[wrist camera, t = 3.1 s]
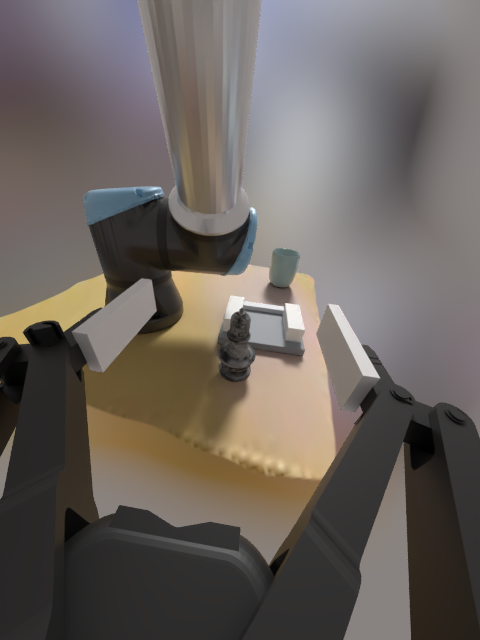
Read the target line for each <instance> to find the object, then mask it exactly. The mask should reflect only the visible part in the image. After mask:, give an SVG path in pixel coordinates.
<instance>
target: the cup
mask: <svg viewBox="0 0 480 640" xmlns="http://www.w3.org/2000/svg"><path fill="white" fill-rule="evenodd" d="M299 260H300V253H299V252H297V251H295V250H292V249H286V248H276V249H274V250H273V253H272V257H271V263H270V270H269V279H270V282H271V283H272V284H273V285H274V286H276V287H287V286H289V285H290V284H291V283H292V281H293V279H294V277H295V274H296V271H297V267H298V263H299Z"/></svg>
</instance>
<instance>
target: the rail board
mask: <svg viewBox="0 0 480 640" xmlns="http://www.w3.org/2000/svg"><path fill="white" fill-rule="evenodd" d="M241 308H243V309H244V312H246V313H248V314H249V316H250V317H251V323H250V329H249V332H250V333H251V338H250V340H249V341H248V345H249V346H251V347H252V348H253V349H259V350H266V351H273V352H280V353H286V354H293V355H300V356H303V353H304V351H305V349H304V344H303V339H302V337H303V334H304V331H305V328H304V324H303V320H302V316H301V311H300V307H299V305H295V304H287V303H285V306H284V307H283V306H275V305H268V304H261V303H254V302H247V301H244V297H237V296H231V297H230V300H229V303H228V306H227V310H226V313H225V316H224V321H223V324H222V327H221V330H220V333H219V337H218V343H219V344H225V343H227V342H228V337H227V332H228V330H229V329H230V321H231V316H232V314H234V313H235V312H238V311H239V310H240V309H241Z"/></svg>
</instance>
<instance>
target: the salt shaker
mask: <svg viewBox="0 0 480 640" xmlns="http://www.w3.org/2000/svg"><path fill="white" fill-rule="evenodd" d="M250 323H251V317H250V316H249V314H248V313H246V312H244V309H243V308H241V309H240V310H239V311H238V312H235V313H234V314H232V316H231V321H230V329H229V330H228V332H227V337H228V342H227V343H225V344H223V345H222V346H221V347H220V348H219V350H218V357H219V359H220V361H221V363H220V365H219V371H220V374H221V375H222V376H223V377H224V378H225V379H227V380H229V381H233V382H238V381H242V380H245V379H246V378H247V377H248V376H249V375H250V372H251V368H250V365H251V364H252V363H253V361H254V359H255V352H254V350H253V348H252V347H251V346H249V345H248V341H249V340H250V338H251V333H250V332H249V329H250Z"/></svg>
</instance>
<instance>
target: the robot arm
mask: <svg viewBox="0 0 480 640" xmlns="http://www.w3.org/2000/svg"><path fill="white" fill-rule="evenodd" d="M137 2H138V7H139V12H140V17H141V21H142V26H143V31H144V36H145V41H146V45H147V50H148V54H149V60H150V65H151V69H152V74H153V79H154V84H155V88H156V93H157V98H158V103H159V108H160V112H161V117H162V122H163V127H164V132H165V136H166V141H167V146H168V151H169V155H170V160H171V165H172V170H173V175H174V180H175V184H176V186H175V187H174V188H173V190H172V191H171V193H170V196H169V198H164V193H163V191H162V189H161V188H160V187H128V188H111V189H99V190H92V191H89V192H87V193H86V194H85V195H84V197H83V204H84V210H85V214H86V218H87V226H89V229H90V232H91V235H92V238H93V241H94V244H95V247H96V251H97V254H98V257H99V260H100V263H101V266H102V270H103V273H104V276H105V279H106V283H107V288H106V299H105V307H104V308H99V309H96V310H94V311H92V312H91V313H89V314H88V315H86V317H84V318H82V319H81V320H80V321H78V322H77V323H76V324H74V325H73V326H72V327H70V328H69V329H67V330H66V331H65V332H63V331H62V329H61V327H60V325H59V323H58V322H56V321H42V322H38V323H35V324H33V325H31V326H29V327H28V328H26V329H25V330H24V332H23V333H24V335H25V336H26V338H27V340H28V341H29V343H30V344H20V345H19V344H18V343H17V341H16V340H15V338H12V337H1V338H0V381H1V383H0V456H1V455H2V452H3V451H4V449H5V447H6V445H7V443H8V441H9V439H10V437H11V435H12V433H13V431H14V429H15V427H16V430H15V436H14V441H13V446H12V451H11V456H10V462H9V467H8V472H7V478H6V482H5V488H4V493H3V496H2V498H1V499H0V640H343V638H344V636H345V632H346V630H347V626H348V624H349V621H350V617H351V614H352V611H353V608H354V605H355V602H356V599H357V596H358V593H359V589H360V585H361V573H360V570H359V565H360V561H361V558H362V555H363V552H364V549H365V546H366V544H367V541H368V538H369V535H370V532H371V530H372V527H373V524H374V521H375V518H376V516H377V513H378V510H379V507H380V504H381V501H382V499H383V496H384V493H385V490H386V487H387V485H388V482H389V479H390V476H391V473H392V471H393V468H394V465H395V462H396V459H397V457H398V454H399V451H400V448H401V445H402V443H403V442H404V462H405V488H406V514H407V538H408V539H407V541H408V568H409V595H410V618H411V619H410V620H411V640H480V438H479V435H478V432H477V430H476V427H475V425H474V423H473V421H472V419H471V418H470V417H468V415H467V414H465V413H464V412H463V411H461V410H460V409H458V408H457V407H455V406H453V405H450V404H447V403H438V404H437V405H436V406H434V407H433V408H432V407H430V406H428V405H425V404H422V403H420V402H417V401H415V399H414V397H413V396H412V395H411V394H410V393H409V392H408V391H407V390H406V389H404V388H403V387H401V386H398V385H396V384H394V382H393V380H392V379H391V377H390V376H389V374H388V372H387V371H386V369H385V368H384V366H383V365H382V363H381V361H380V360H379V358H378V356H377V355H376V353H375V352H374V351H373V350H372V349H371V348H370V347H369V346H367V345H361V344H360V342H359V340H358V338H357V337H356V335H355V333H354V331H353V330H352V328H351V326H350V324H349V323H348V321H347V319H346V317H345V316H344V314H343V312H342V310H341V309H340V307H339V305H333V304H328V305H327V308H326V310H325V313H324V315H323V318H322V320H321V323H320V325H319V328H318V331H317V333H316V334H317V337H318V341H319V344H320V347H321V350H322V353H323V356H324V359H325V363H326V366H327V369H328V372H329V375H330V378H331V381H332V385H333V388H334V391H335V394H336V397H337V400H338V404H339V407H340V410H344V411H351V412H355V411H356V410H357V409H358V407H359V406H361V409H362V411H363V413H362V415H361V416H360V417H359V418H358V420H357V421H356V422H355V426H354V427H353V429H352V431H351V432H350V434H349V436H348V437H347V439H346V441H345V442H344V444H343V446H342V447H341V449H340V451H339V452H338V454H337V456H336V457H335V459H334V461H333V462H332V464H331V466H330V467H329V469H328V471H327V472H326V474H325V476H324V477H323V479H322V481H321V482H320V484H319V486H318V487H317V489H316V491H315V492H314V494H313V496H312V497H311V499H310V501H309V502H308V504H307V505H306V507H305V509H304V511H303V512H302V514H301V515H300V517H299V519H298V521H297V522H296V524H295V525H294V527H293V529H292V530H291V532H290V533H289V535H288V537H287V538H286V539H285V541H284V542H283V544H282V545H281V547H280V548H279V550H278V551H277V553H276V554H275V556H274V558H273V560H272V561H271V563H270V565H269V566H268V564H267V562H266V560H265V559H264V558H263V556H262V555H261V553H260V552H259V551H258V550H257V549H256V547H255V546H254V545H253V544H251V542H250V541H248V540H247V539H246V538H244V537H243V536H241V535H240V527H234V526H230V525H224V524H219V523H213V522H207V523H201V524H196V525H190V526H184V527H178V528H177V527H174V526H172V525H170V524H169V523H167V522H166V521H164V520H162V519H161V518H159V517H158V516H156V515H155V514H153V513H151V512H150V511H148V510H142V509H137V508H132V507H127V506H121V505H120V506H119V507H118V509H117V511H116V513H115V514H111V515H108V516H105V517H102V518H100V519H99V516H98V511H97V507H96V504H95V502H94V498H93V490H92V477H91V464H90V450H89V437H88V424H87V410H86V397H85V384H84V372H83V370H82V367H83V366H84V365H85V364H86V363H87V365H88V367H89V369H90V371H97V372H104V371H105V370H106V369H107V368H108V367H109V365H110V364H111V363H112V362H113V361H114V360H115V358H116V357H117V356H118V355H119V354H120V353H121V351H122V350H123V349H124V348H125V347H126V346H127V345H128V343H129V342H130V341H131V340H132V339H133V338H134V336H135V335H136V334H141V333H150V332H155V331H159V330H162V329H165V328H167V327H169V326H171V325H173V324H174V323H175V322H177V321H178V320H179V319H180V318H181V316H182V314H183V302H182V298H181V296H180V294H179V292H178V290H177V288H176V286H175V283H174V281H173V279H172V275H171V271H184V272H195V273H206V274H217V275H222V276H225V275H239V274H241V273H243V272H244V271H245V270H246V268H247V266H248V264H249V261H250V259H251V255H252V252H253V244H254V241H255V237H256V230H257V213H256V210H255V209H254V208H252V207H250V201H249V198H248V195H247V194H246V192H245V191H244V189H243V188H242V180H243V171H244V161H245V152H246V142H247V133H248V123H249V114H250V104H251V94H252V85H253V75H254V66H255V57H256V47H257V38H258V27H259V19H260V9H261V0H137Z"/></svg>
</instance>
